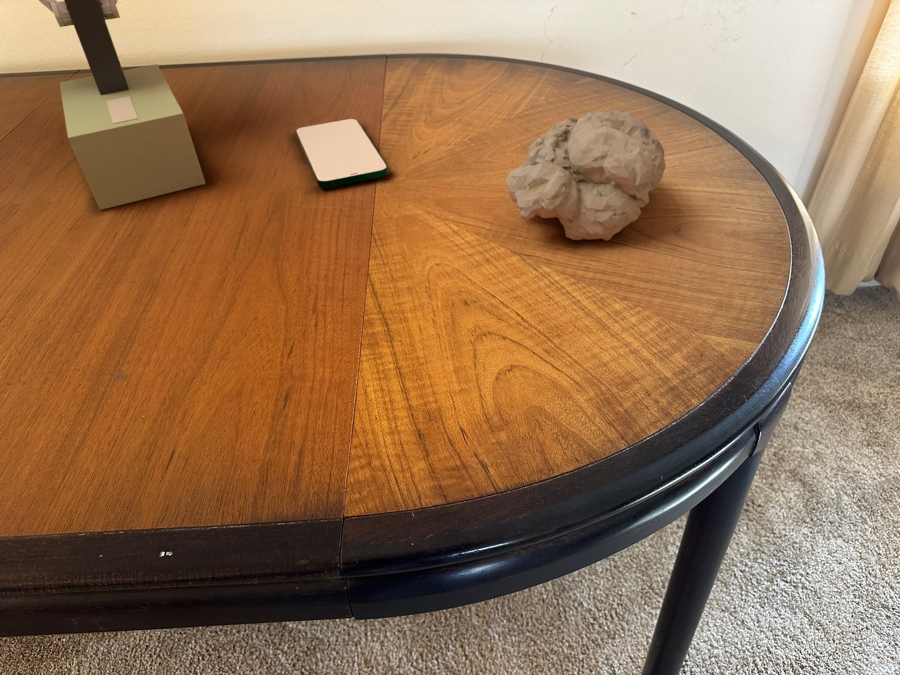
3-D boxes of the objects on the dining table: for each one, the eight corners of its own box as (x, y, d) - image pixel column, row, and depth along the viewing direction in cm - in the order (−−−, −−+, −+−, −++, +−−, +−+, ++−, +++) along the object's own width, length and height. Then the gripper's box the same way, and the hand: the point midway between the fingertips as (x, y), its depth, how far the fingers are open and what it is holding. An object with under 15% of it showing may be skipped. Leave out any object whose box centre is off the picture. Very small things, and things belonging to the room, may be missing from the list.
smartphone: (295, 135, 81) (319, 191, 69) (293, 128, 80) (317, 183, 68) (357, 124, 82) (391, 176, 71) (356, 117, 82) (390, 168, 70)
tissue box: (87, 147, 81) (58, 81, 75) (178, 127, 84) (156, 63, 79) (100, 210, 68) (67, 136, 63) (205, 183, 72) (183, 112, 66)
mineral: (470, 187, 64) (496, 116, 55) (601, 131, 70) (644, 59, 61) (540, 288, 61) (580, 231, 52) (671, 220, 67) (727, 159, 58)
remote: (100, 95, 71) (49, -40, 63) (97, 81, 75) (48, -48, 66) (130, 89, 72) (83, -44, 64) (126, 76, 76) (81, -52, 67)
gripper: (-81, -115, 63) (-35, 17, 62) (140, -135, 69) (183, -15, 69) (-52, -68, 69) (-9, 53, 68) (149, -90, 75) (189, 20, 75)
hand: (89, 19), depth 69 cm, fingers closed on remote, 3 cm apart
